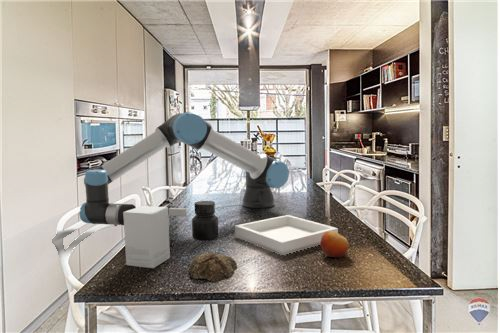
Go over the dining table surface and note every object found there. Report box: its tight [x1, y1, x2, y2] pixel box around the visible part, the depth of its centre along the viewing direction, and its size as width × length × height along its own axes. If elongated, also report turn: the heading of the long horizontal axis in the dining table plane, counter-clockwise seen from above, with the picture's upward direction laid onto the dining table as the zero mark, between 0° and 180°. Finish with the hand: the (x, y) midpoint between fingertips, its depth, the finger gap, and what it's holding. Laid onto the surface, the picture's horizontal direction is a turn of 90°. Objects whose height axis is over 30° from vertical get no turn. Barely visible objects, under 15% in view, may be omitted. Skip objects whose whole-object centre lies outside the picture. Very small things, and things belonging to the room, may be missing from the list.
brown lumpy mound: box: [188, 252, 238, 282], centre depth 99 cm, size 13×12×5 cm
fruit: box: [320, 231, 350, 259], centre depth 109 cm, size 8×8×8 cm
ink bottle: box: [191, 200, 219, 242], centre depth 128 cm, size 10×9×12 cm
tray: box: [234, 214, 339, 256], centre depth 126 cm, size 24×24×4 cm
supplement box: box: [123, 205, 171, 269], centre depth 106 cm, size 9×9×15 cm
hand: (178, 217), depth 131 cm, fingers open, 13 cm apart
